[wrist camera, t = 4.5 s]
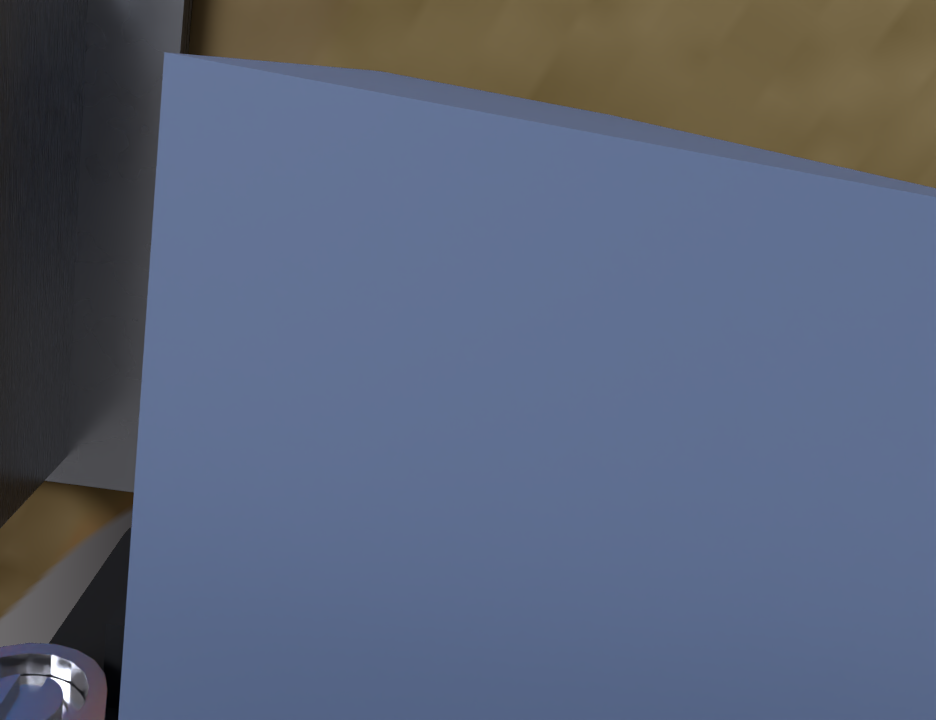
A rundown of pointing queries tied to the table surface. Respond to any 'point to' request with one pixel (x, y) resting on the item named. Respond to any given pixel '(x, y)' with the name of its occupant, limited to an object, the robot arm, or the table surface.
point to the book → (522, 415)
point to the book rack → (77, 233)
